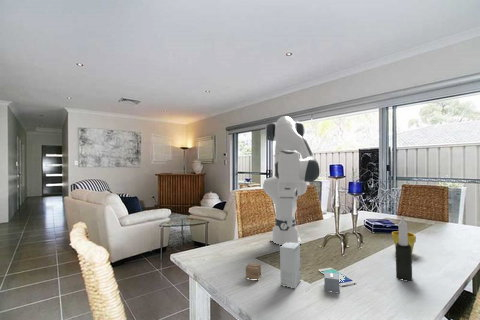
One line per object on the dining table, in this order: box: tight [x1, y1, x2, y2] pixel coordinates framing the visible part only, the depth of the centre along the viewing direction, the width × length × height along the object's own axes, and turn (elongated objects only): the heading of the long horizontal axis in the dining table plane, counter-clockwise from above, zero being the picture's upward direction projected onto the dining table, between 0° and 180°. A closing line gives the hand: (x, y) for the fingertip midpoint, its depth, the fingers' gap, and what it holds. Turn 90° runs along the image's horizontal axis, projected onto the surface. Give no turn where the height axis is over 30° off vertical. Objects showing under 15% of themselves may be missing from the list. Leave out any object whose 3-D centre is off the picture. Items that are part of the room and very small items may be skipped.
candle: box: [395, 215, 413, 282], centre depth 98 cm, size 5×5×25 cm
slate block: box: [323, 272, 340, 294], centre depth 90 cm, size 5×5×5 cm
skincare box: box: [279, 242, 302, 289], centre depth 95 cm, size 8×6×15 cm
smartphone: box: [318, 267, 357, 287], centre depth 99 cm, size 8×1×15 cm
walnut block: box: [245, 262, 262, 280], centre depth 99 cm, size 5×5×5 cm
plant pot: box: [391, 230, 417, 253], centre depth 126 cm, size 10×10×10 cm
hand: (289, 226), depth 95 cm, fingers closed
